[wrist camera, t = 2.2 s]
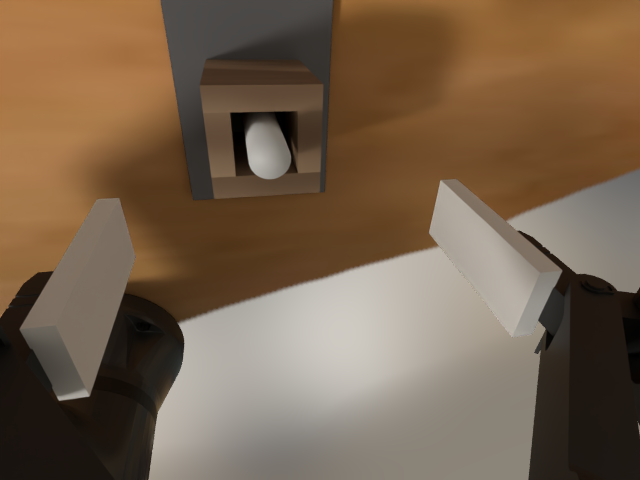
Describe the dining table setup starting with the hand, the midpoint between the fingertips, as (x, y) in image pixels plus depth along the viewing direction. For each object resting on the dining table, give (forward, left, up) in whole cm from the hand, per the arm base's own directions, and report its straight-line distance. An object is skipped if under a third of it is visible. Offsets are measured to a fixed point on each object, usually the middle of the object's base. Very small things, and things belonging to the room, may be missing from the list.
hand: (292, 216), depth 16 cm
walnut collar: (0, 0, -18) cm, 18 cm away
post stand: (0, 0, -19) cm, 19 cm away
